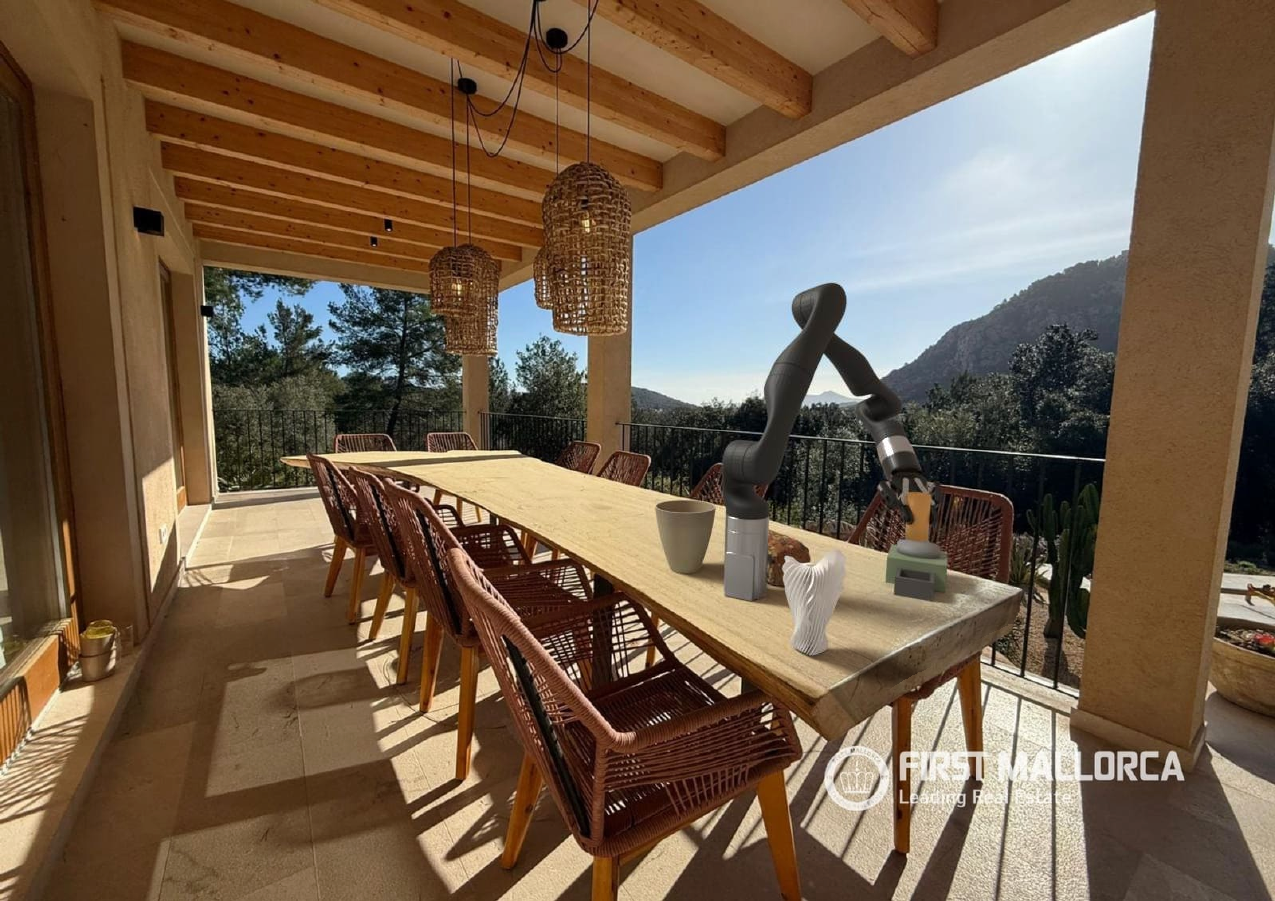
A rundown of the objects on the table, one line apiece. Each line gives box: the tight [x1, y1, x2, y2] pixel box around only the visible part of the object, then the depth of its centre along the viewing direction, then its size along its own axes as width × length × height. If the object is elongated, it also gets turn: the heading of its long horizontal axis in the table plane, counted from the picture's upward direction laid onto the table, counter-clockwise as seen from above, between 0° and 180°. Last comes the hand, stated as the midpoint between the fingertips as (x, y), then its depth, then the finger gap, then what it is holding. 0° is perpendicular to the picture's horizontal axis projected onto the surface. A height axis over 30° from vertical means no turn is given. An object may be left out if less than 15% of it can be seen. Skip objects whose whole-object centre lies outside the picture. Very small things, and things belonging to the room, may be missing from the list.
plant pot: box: [654, 499, 717, 574], centre depth 129 cm, size 15×15×16 cm
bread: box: [767, 529, 811, 586], centre depth 127 cm, size 19×11×10 cm, turn 17°
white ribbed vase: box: [782, 548, 847, 656], centre depth 88 cm, size 8×8×18 cm
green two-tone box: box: [885, 539, 948, 602], centre depth 120 cm, size 19×12×8 cm, turn 150°
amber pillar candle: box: [904, 492, 931, 542], centre depth 114 cm, size 4×4×10 cm
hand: (922, 522), depth 112 cm, fingers closed on amber pillar candle, 4 cm apart
